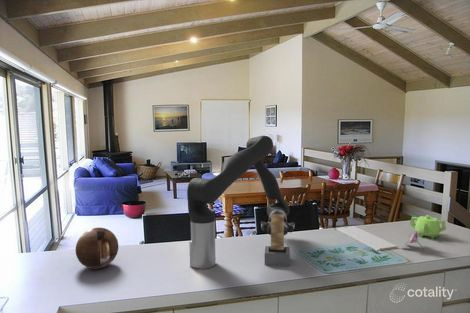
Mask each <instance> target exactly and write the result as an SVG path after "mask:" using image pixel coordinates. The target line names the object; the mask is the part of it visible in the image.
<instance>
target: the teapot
mask: <svg viewBox="0 0 470 313" xmlns="http://www.w3.org/2000/svg"><path fill="white" fill-rule="evenodd" d="M440 224H441V225H440ZM409 225H410V226H411V227H412V228H414V231H415V232H417V231H419V230H420V229H421V228H422V229H421V230H420V231H419V233H418V237H420V238H423V237H424V236H425V237H429V239H432V240H435V237H436V238H437V237H438V236H439V234H440V233H441V232H443V231H446V229H447V228H446V227H447V226H446V221H445V220H439V219H438V218H436V217H432V216H431V215H428V214H426V215H425V216H422V215H421V216H419V217H418V216H417V217H416V216H411V219H410V222H409ZM440 226H441V227H440ZM418 229H419V230H418ZM415 232H414V233H415Z"/></svg>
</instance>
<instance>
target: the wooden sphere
mask: <svg viewBox="0 0 470 313" xmlns="http://www.w3.org/2000/svg"><path fill="white" fill-rule="evenodd" d="M118 252H119V241H118V238H117V237H116V235H115V234H114V232H113V231H111V230H110V229H108V228H105V227H93V228H90V229H87V230H86V231H84V233H82V235H80V237H79V238H78V240H77V242H76V244H75V255H76V258H77V260H78V261H79V263H80V264H81V265H82V266H84V267H86V268H88V269H91V270H97V269H98V270H99V269H103V268H105V267H107V266H108V265H110V264H111V263H112V262H113V261H115V259H116V257H117V255H118Z"/></svg>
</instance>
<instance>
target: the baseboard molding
mask: <svg viewBox="0 0 470 313" xmlns="http://www.w3.org/2000/svg"><path fill="white" fill-rule="evenodd" d="M335 230H336V232H340V233H342V234H343V235H345V236H347V237H349V238H351V239H353V240H355V241H357V242H359V243H361V244H363V245H364V244H365V246H366V245H367V247H368V246H369V248H370V247H371V248H370V249H372V248H373V250H374V249H375V250H374V251H376V252H378V251H377V250H380V251H387V250H394V249H395V250H396V249H398V247H399V246H397V245H396V244H394V243H391V242H389V241H387V240H385V239H383V238H381V237H378V236H377V235H375V234H372V233H370V232H368V231H366V230H363V229H361V228H359V227H357V226H354V223H353V224H352V225H347V226H346V223H344V224H343V226H338V228H335Z"/></svg>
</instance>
